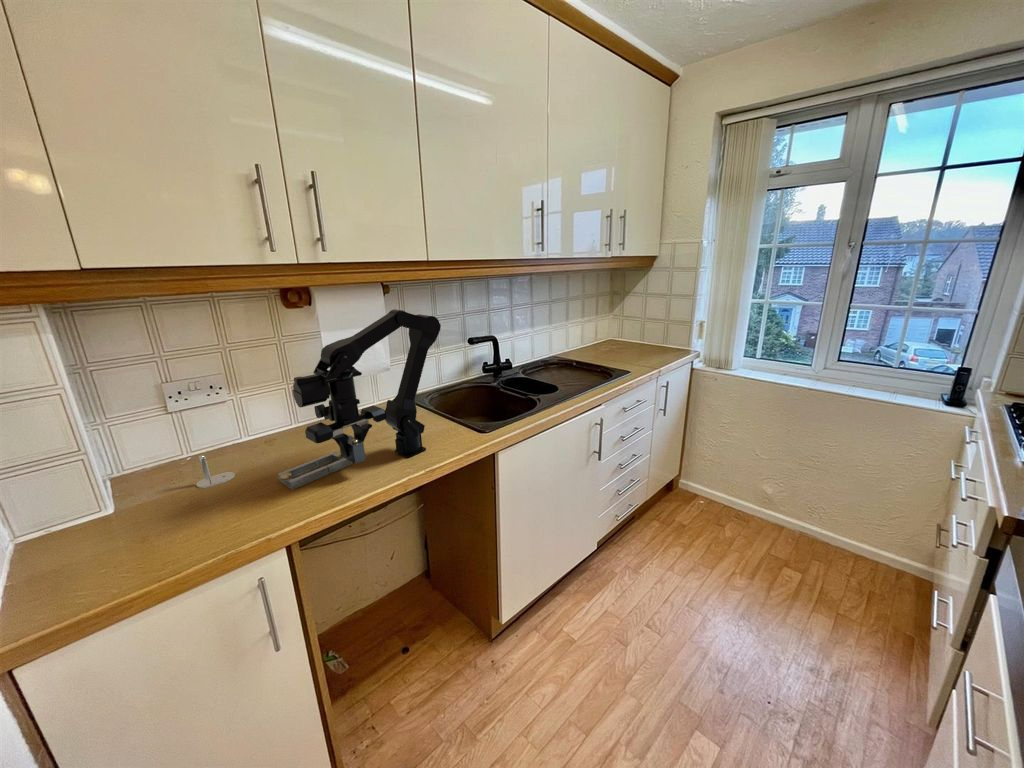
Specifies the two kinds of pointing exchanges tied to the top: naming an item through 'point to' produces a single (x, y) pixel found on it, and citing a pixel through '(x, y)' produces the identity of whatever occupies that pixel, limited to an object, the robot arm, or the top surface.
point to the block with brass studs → (354, 450)
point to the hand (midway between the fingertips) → (352, 454)
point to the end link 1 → (304, 479)
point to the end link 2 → (336, 465)
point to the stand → (212, 479)
